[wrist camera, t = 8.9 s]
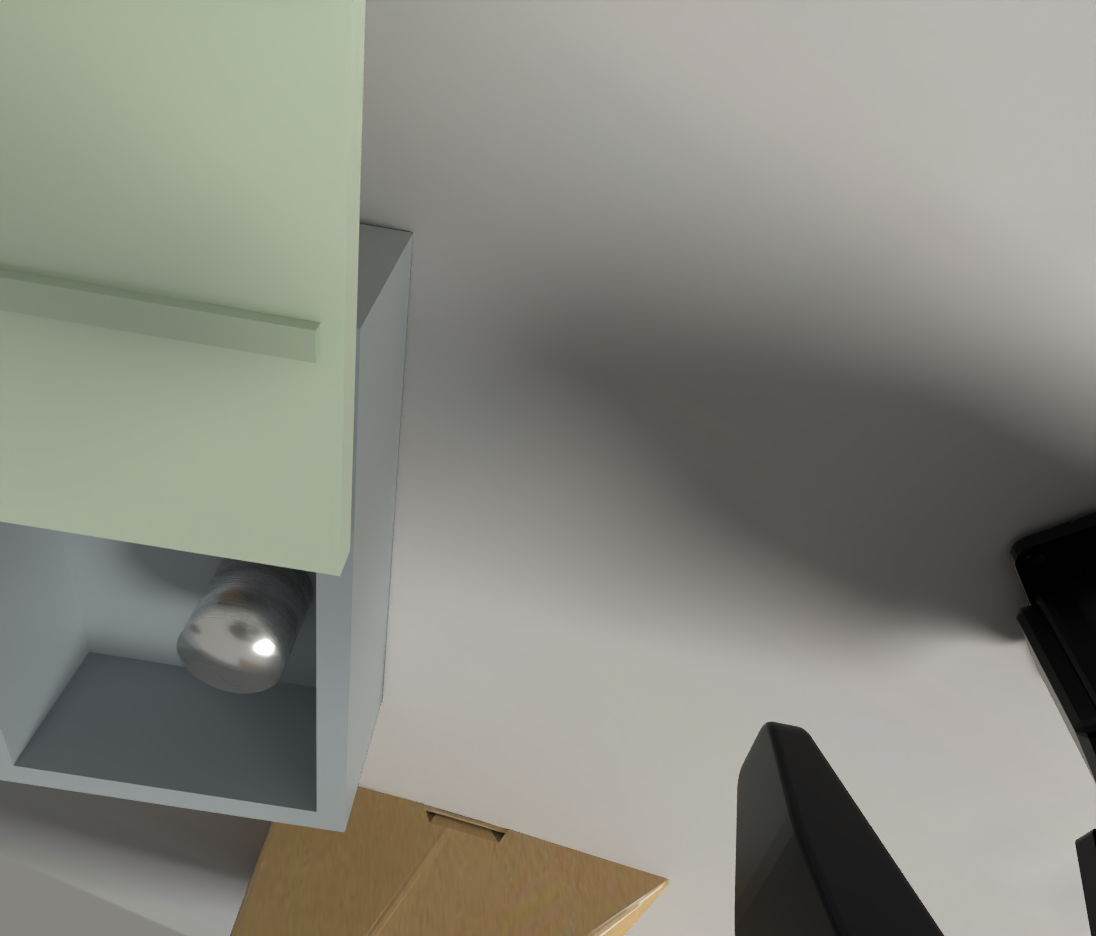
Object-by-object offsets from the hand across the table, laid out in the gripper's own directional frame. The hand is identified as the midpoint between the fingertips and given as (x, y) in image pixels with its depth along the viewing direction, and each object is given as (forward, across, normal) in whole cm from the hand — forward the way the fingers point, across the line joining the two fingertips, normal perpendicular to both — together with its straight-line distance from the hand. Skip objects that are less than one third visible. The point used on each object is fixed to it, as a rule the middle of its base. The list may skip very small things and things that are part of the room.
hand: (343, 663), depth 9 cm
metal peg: (+12, +5, +11) cm, 17 cm away
